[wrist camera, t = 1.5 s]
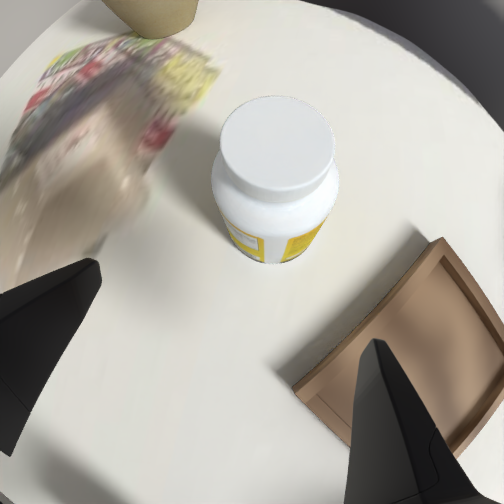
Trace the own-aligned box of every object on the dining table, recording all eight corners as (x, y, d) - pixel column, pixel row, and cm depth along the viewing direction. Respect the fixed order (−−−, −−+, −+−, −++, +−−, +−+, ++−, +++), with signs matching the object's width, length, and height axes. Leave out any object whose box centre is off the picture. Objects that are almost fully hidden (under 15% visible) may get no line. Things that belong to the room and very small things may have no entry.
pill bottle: (324, 201, 23) (371, 108, 11) (297, 279, 22) (336, 239, 10) (246, 173, 24) (235, 67, 12) (214, 247, 22) (169, 180, 11)
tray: (403, 491, 17) (412, 501, 15) (292, 387, 20) (294, 393, 18) (512, 362, 19) (524, 364, 17) (430, 242, 22) (442, 236, 20)
